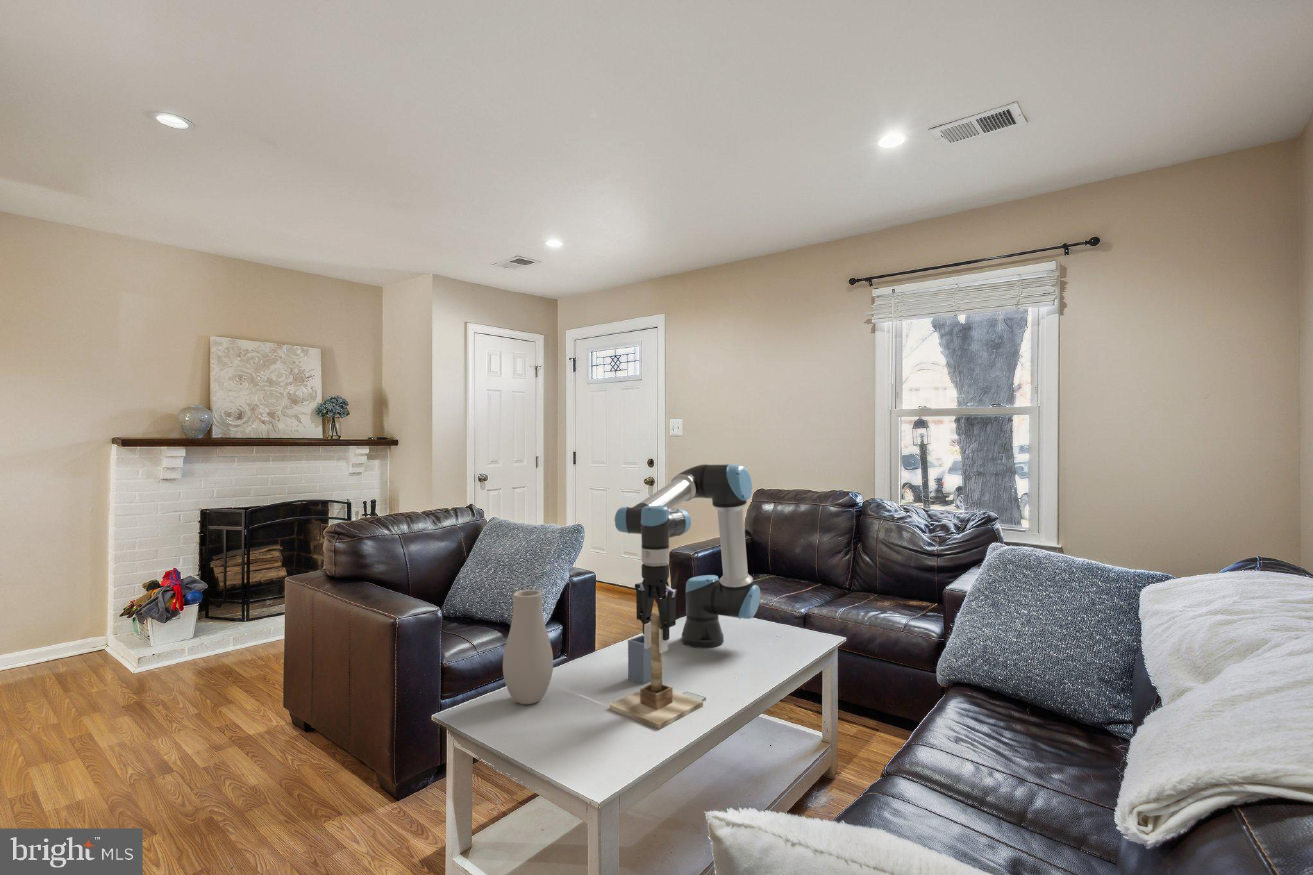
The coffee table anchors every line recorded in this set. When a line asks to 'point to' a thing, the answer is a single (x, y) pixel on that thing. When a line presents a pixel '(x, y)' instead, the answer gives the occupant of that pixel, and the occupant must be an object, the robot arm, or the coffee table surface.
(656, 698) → the board with square socket
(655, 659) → the dowel
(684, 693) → the smartphone
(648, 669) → the grey square tube
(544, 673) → the vase
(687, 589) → the robot arm
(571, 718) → the coffee table surface
